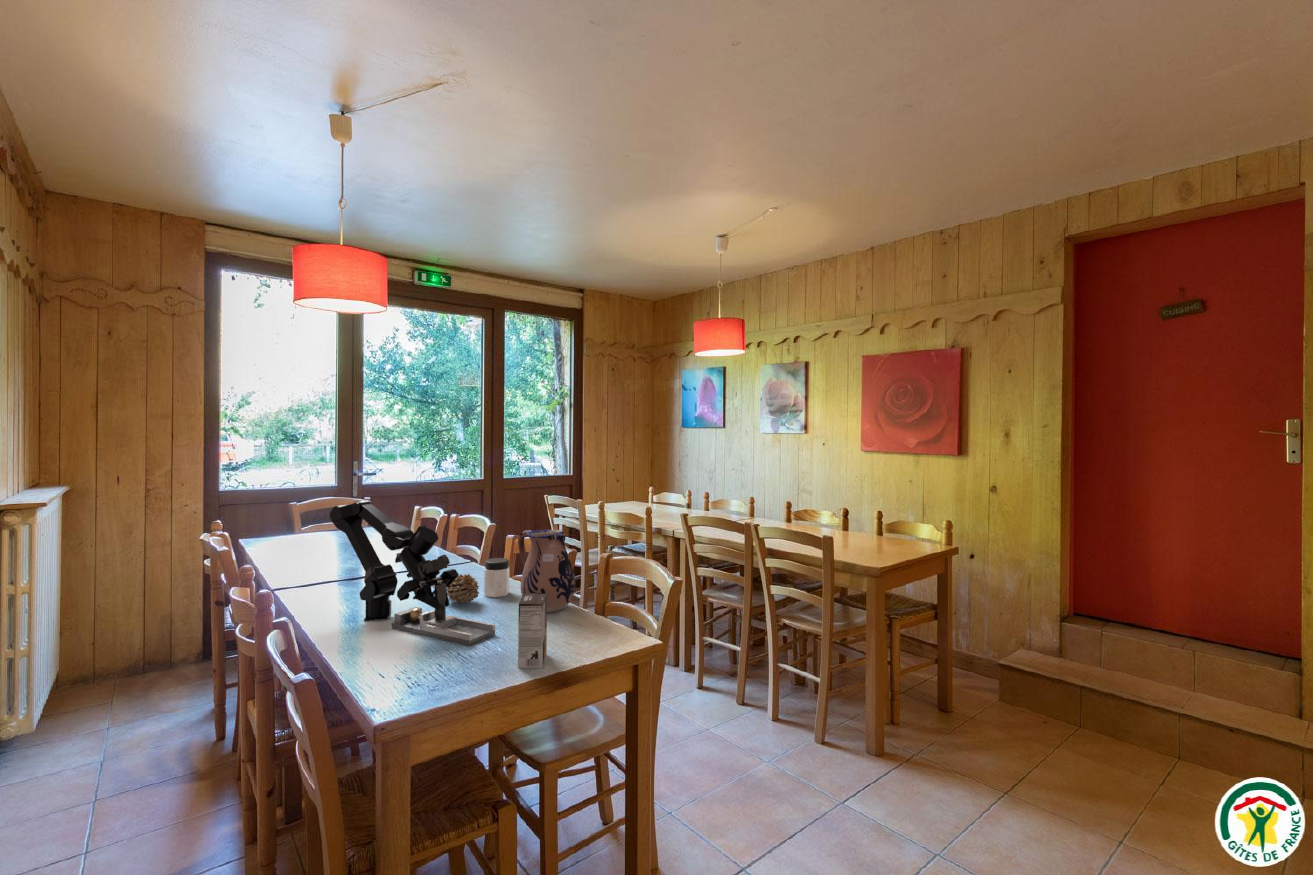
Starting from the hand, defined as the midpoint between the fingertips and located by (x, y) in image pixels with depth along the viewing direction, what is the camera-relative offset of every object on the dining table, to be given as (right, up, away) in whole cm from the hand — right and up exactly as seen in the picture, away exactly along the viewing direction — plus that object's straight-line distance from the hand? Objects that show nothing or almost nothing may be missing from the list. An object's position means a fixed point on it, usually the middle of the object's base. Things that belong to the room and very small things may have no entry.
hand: (443, 607), depth 175 cm
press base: (0, -7, 0) cm, 7 cm away
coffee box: (+30, -8, -21) cm, 37 cm away
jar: (+5, -7, +40) cm, 41 cm away
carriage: (-2, -5, +1) cm, 6 cm away
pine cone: (-6, -7, +31) cm, 32 cm away
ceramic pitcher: (+24, -7, +24) cm, 35 cm away
